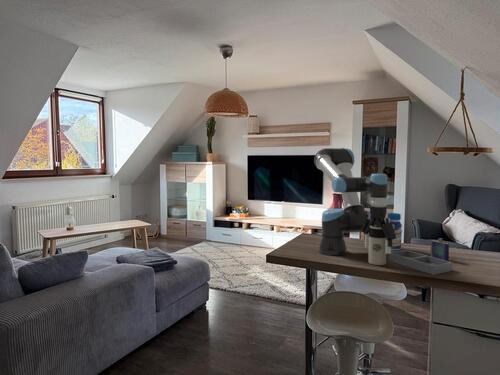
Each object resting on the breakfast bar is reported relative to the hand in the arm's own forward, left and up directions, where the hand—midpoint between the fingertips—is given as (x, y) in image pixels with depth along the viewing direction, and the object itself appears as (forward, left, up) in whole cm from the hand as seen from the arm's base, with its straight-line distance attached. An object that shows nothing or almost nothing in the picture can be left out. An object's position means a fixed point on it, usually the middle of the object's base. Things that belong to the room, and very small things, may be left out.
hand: (377, 250), depth 159 cm
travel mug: (0, 0, -7) cm, 7 cm away
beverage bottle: (-16, +29, -7) cm, 34 cm away
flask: (+9, +33, -7) cm, 35 cm away
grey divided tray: (+11, +15, -6) cm, 20 cm away
